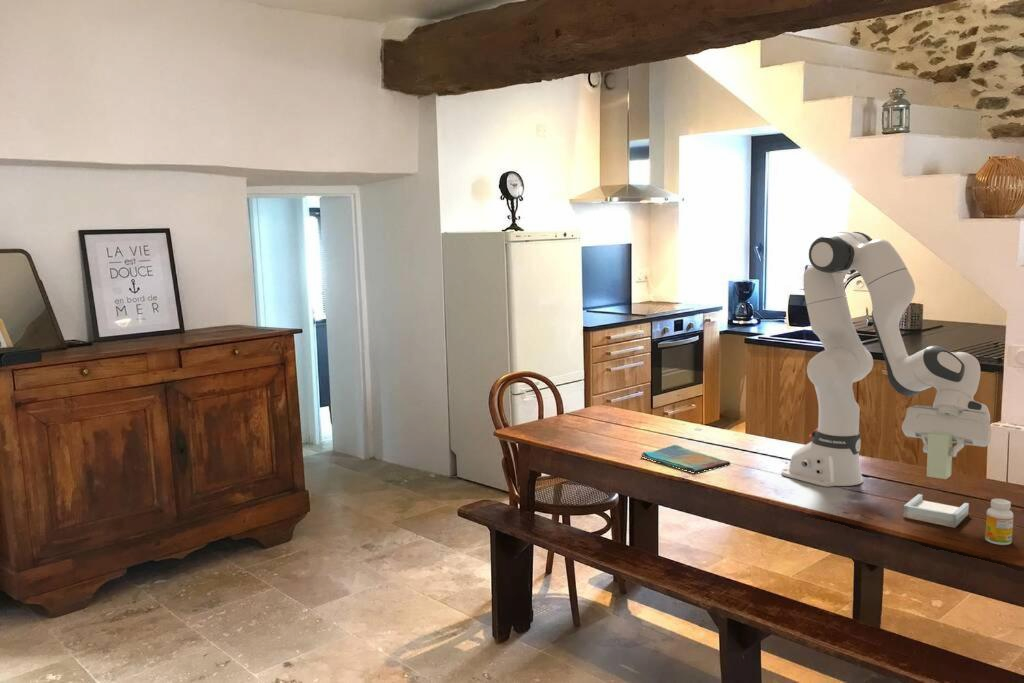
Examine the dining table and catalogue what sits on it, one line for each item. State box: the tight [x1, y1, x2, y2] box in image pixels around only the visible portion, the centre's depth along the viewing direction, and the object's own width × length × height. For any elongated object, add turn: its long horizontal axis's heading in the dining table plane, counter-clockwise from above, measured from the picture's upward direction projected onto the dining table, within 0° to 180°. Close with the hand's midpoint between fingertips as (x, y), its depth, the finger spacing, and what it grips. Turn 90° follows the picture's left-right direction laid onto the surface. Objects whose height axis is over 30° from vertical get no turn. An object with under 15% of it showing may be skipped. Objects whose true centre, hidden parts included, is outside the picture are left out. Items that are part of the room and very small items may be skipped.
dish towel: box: [641, 444, 731, 474], centre depth 264 cm, size 17×23×2 cm
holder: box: [902, 493, 970, 529], centre depth 211 cm, size 12×12×3 cm
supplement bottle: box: [984, 498, 1014, 546], centre depth 193 cm, size 5×5×10 cm
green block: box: [926, 431, 954, 480], centre depth 209 cm, size 4×4×11 cm
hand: (939, 453), depth 208 cm, fingers closed on green block, 4 cm apart
